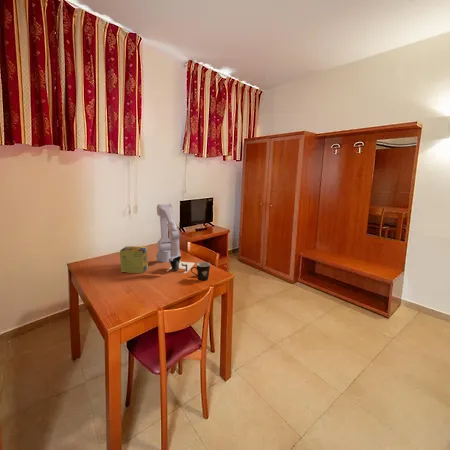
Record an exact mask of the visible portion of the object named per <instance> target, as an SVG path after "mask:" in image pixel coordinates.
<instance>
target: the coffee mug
mask: <svg viewBox="0 0 450 450" xmlns="http://www.w3.org/2000/svg"><path fill="white" fill-rule="evenodd" d="M193 269H196V271H197V272H196V273H195V272H193ZM210 269H211V263H210V262H207V261H200V262H197V263H196V266H192V267H191V268H190V272H191V273H192V274H193V275H195V276H197V278H198V281H200V282H206V281H208V280H209V275H210Z"/></svg>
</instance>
